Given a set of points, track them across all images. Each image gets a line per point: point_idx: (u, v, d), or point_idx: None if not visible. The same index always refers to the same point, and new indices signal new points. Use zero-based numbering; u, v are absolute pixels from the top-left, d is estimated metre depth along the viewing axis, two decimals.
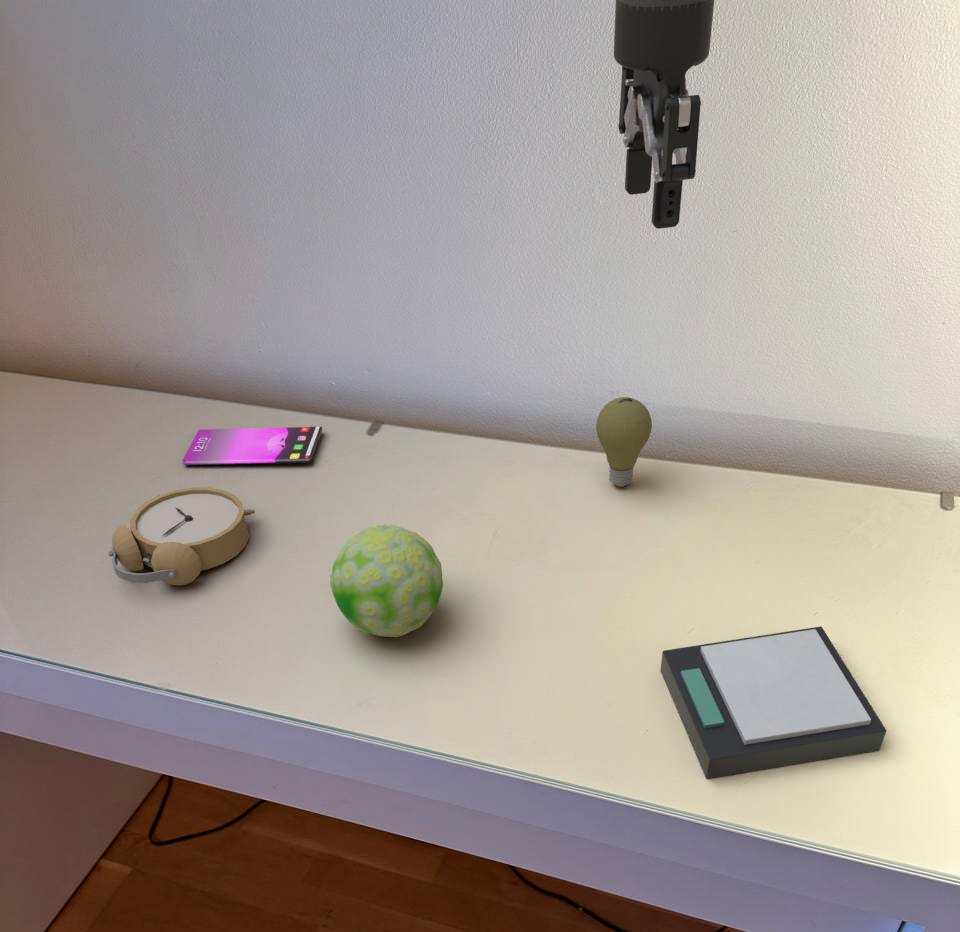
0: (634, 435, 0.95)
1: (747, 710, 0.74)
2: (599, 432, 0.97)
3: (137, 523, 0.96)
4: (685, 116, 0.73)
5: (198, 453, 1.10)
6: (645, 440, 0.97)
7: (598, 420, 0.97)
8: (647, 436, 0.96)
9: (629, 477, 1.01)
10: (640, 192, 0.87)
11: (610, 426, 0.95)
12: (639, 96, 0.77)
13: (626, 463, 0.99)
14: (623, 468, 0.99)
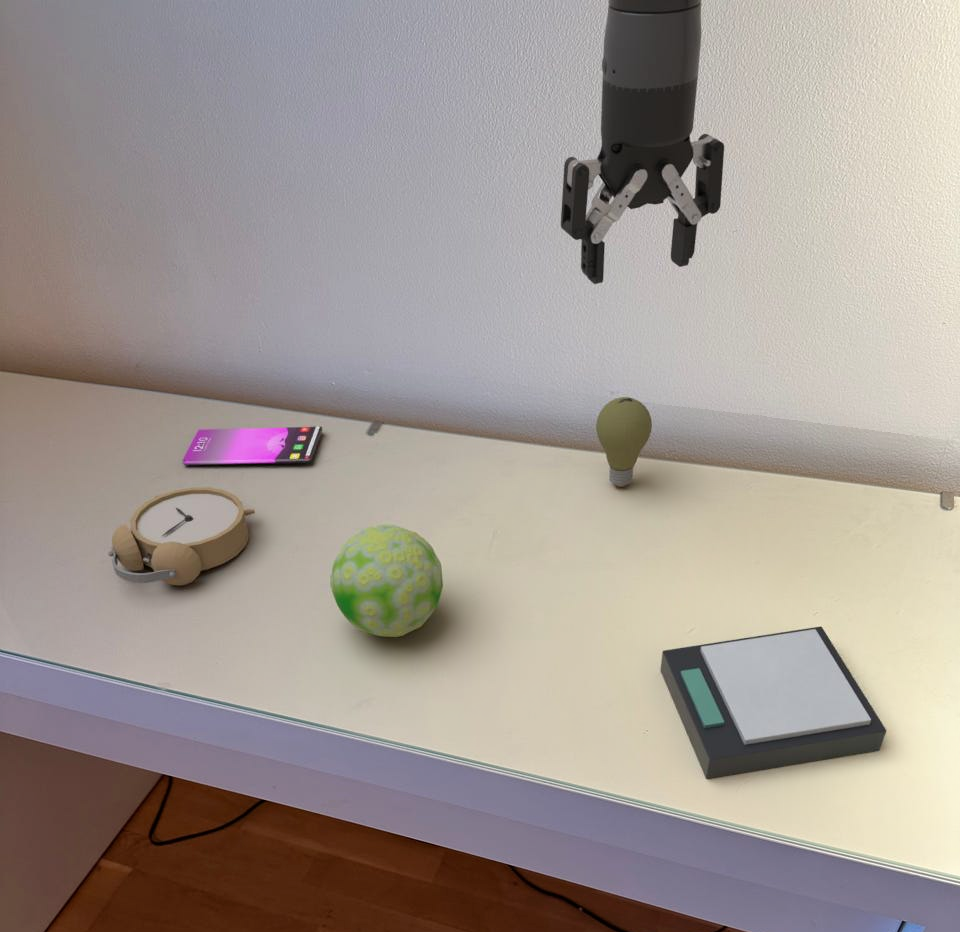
0: (634, 435, 0.95)
1: (747, 710, 0.74)
2: (599, 432, 0.97)
3: (137, 523, 0.96)
4: (569, 178, 0.80)
5: (198, 453, 1.10)
6: (645, 440, 0.97)
7: (598, 420, 0.97)
8: (647, 436, 0.96)
9: (629, 477, 1.01)
10: (677, 263, 0.88)
11: (610, 426, 0.95)
12: None
13: (626, 463, 0.99)
14: (623, 468, 0.99)
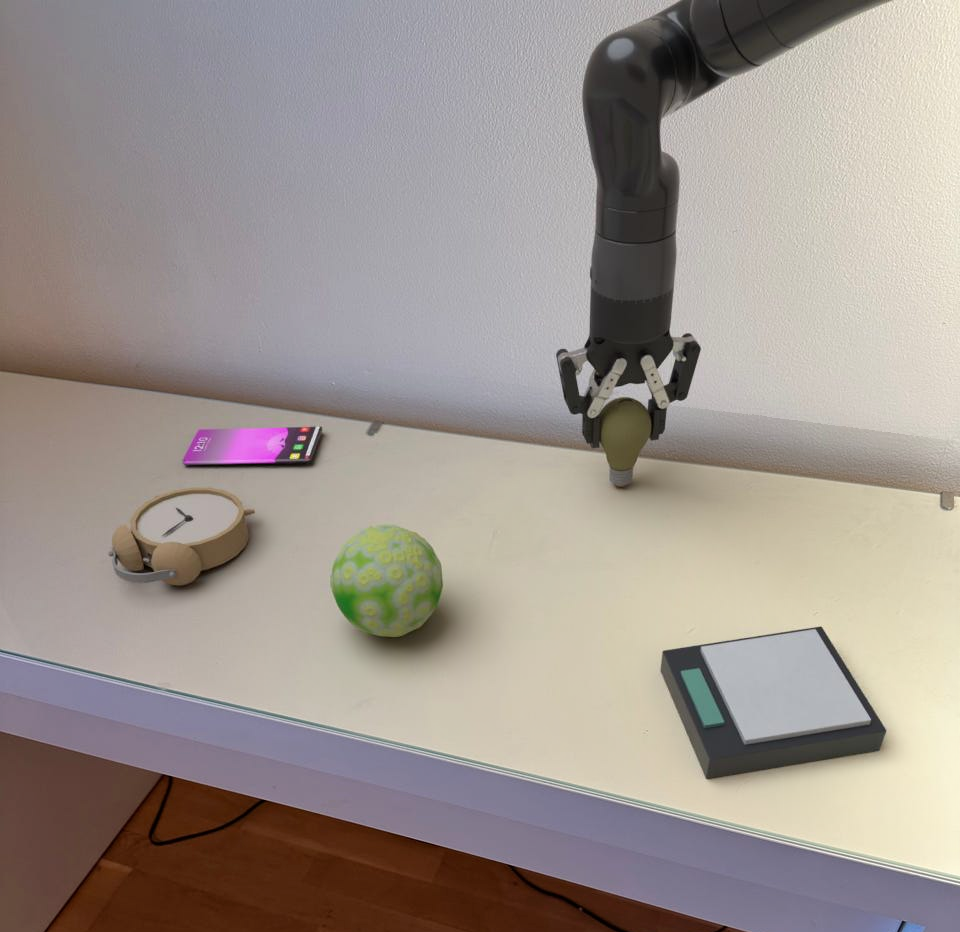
0: (634, 435, 0.95)
1: (747, 710, 0.74)
2: None
3: (137, 523, 0.96)
4: (560, 368, 0.92)
5: (198, 453, 1.10)
6: (645, 440, 0.96)
7: None
8: (647, 436, 0.96)
9: (629, 477, 1.01)
10: (649, 436, 0.99)
11: (610, 427, 0.95)
12: None
13: (625, 463, 0.99)
14: (623, 468, 0.99)
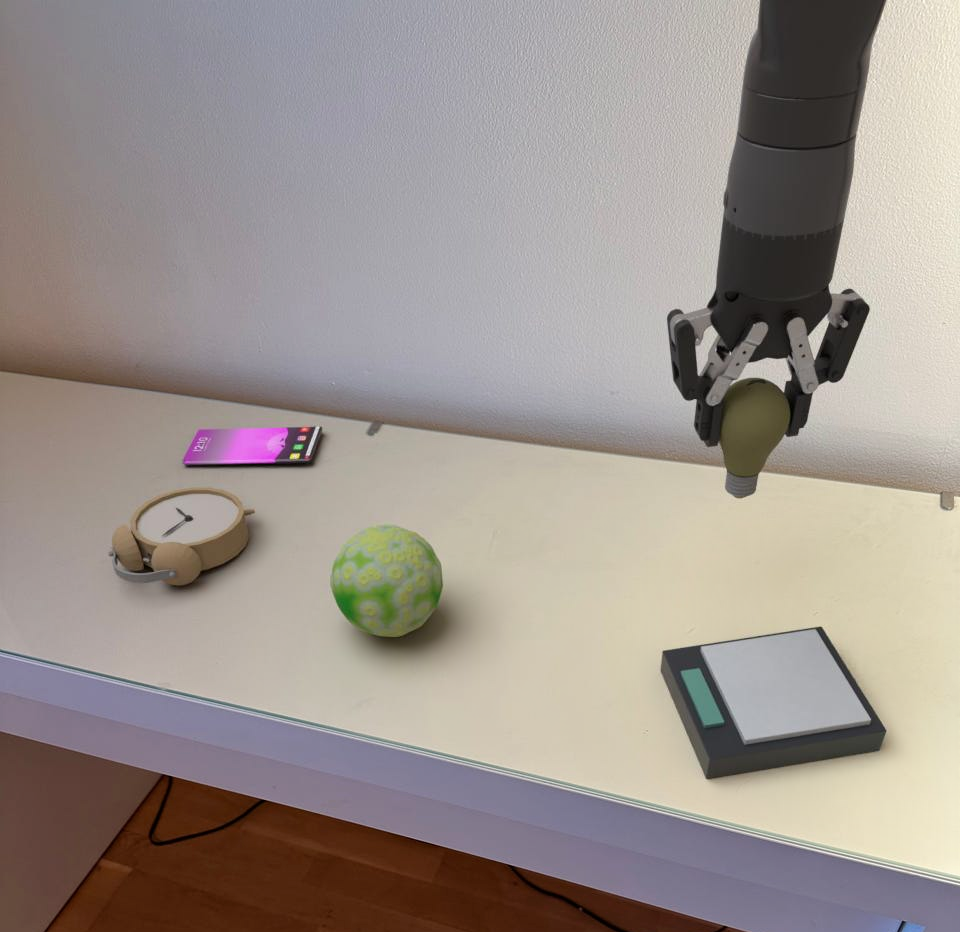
0: (768, 429, 0.70)
1: (747, 710, 0.74)
2: None
3: (137, 523, 0.96)
4: (673, 336, 0.66)
5: (198, 453, 1.10)
6: (781, 436, 0.71)
7: None
8: (784, 431, 0.71)
9: (753, 486, 0.75)
10: None
11: (735, 418, 0.70)
12: None
13: (751, 467, 0.73)
14: (747, 474, 0.74)
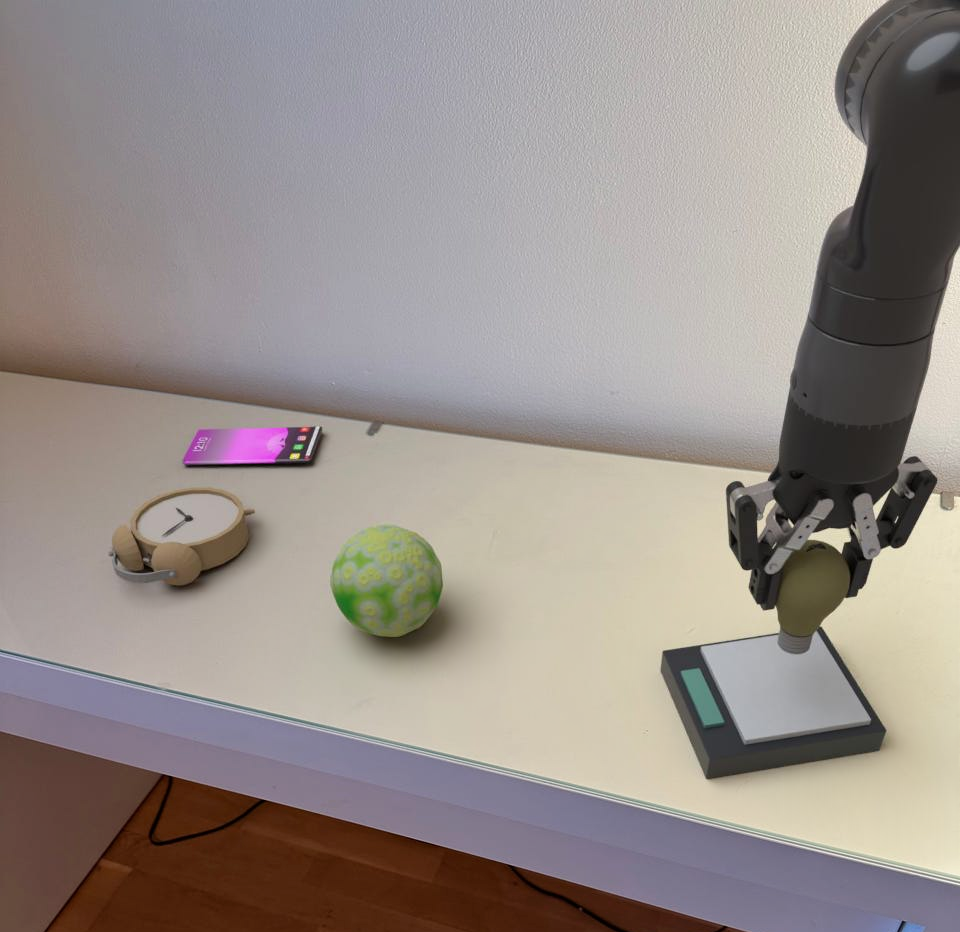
0: (830, 597, 0.67)
1: (747, 710, 0.74)
2: None
3: (137, 523, 0.96)
4: (733, 509, 0.63)
5: (198, 453, 1.10)
6: (841, 601, 0.68)
7: None
8: None
9: (808, 644, 0.72)
10: None
11: (795, 585, 0.67)
12: None
13: (808, 629, 0.70)
14: (803, 635, 0.71)
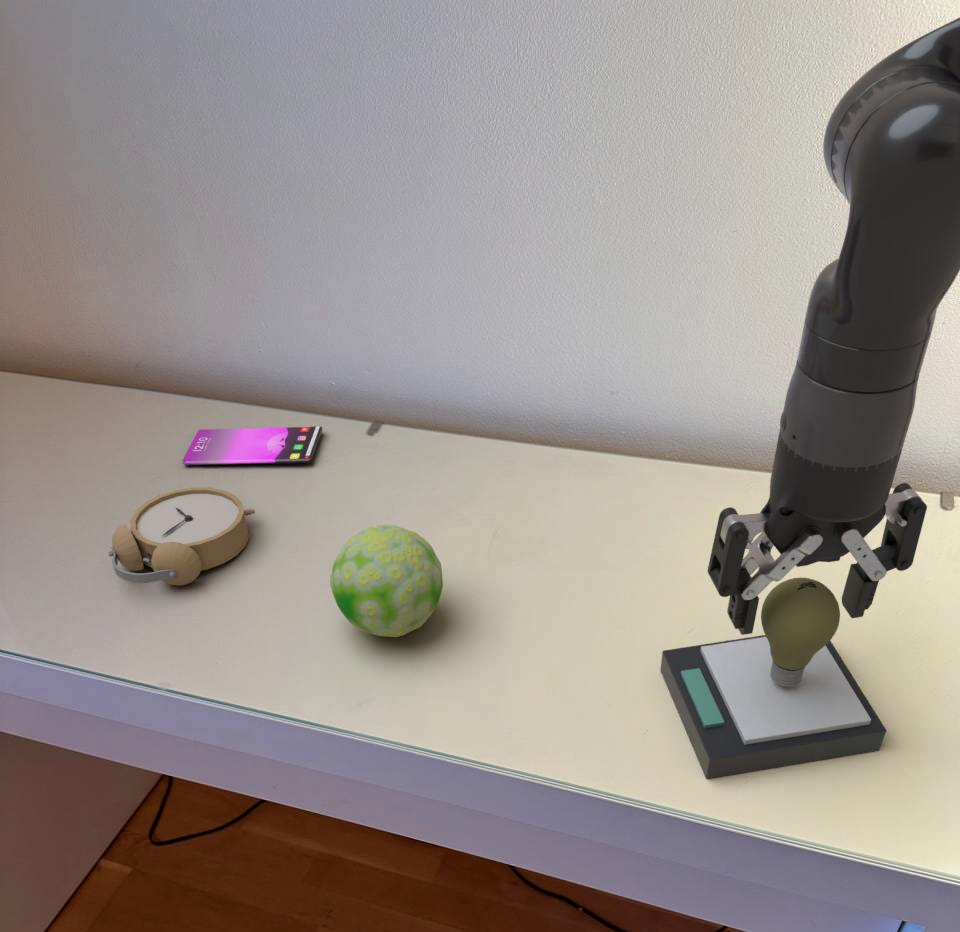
0: (820, 634, 0.69)
1: (747, 710, 0.74)
2: (768, 626, 0.71)
3: (137, 523, 0.96)
4: (724, 534, 0.65)
5: (198, 453, 1.10)
6: (831, 637, 0.71)
7: (766, 609, 0.71)
8: (834, 632, 0.70)
9: (800, 676, 0.75)
10: (848, 612, 0.72)
11: (786, 622, 0.69)
12: None
13: (800, 663, 0.73)
14: (795, 668, 0.73)
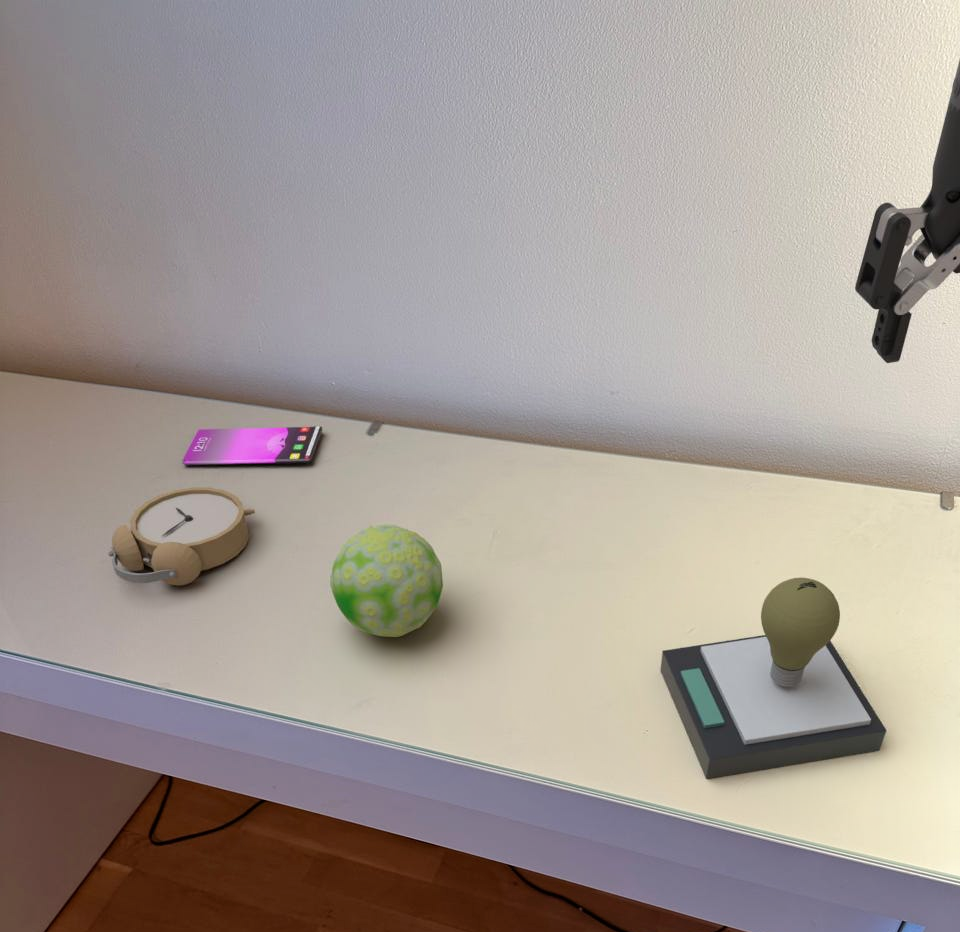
0: (820, 634, 0.69)
1: (747, 710, 0.74)
2: (768, 626, 0.71)
3: (137, 523, 0.96)
4: (881, 231, 0.61)
5: (198, 453, 1.10)
6: (831, 637, 0.71)
7: (766, 609, 0.71)
8: (834, 632, 0.70)
9: (800, 676, 0.75)
10: None
11: (786, 622, 0.69)
12: None
13: (800, 663, 0.73)
14: (795, 668, 0.73)
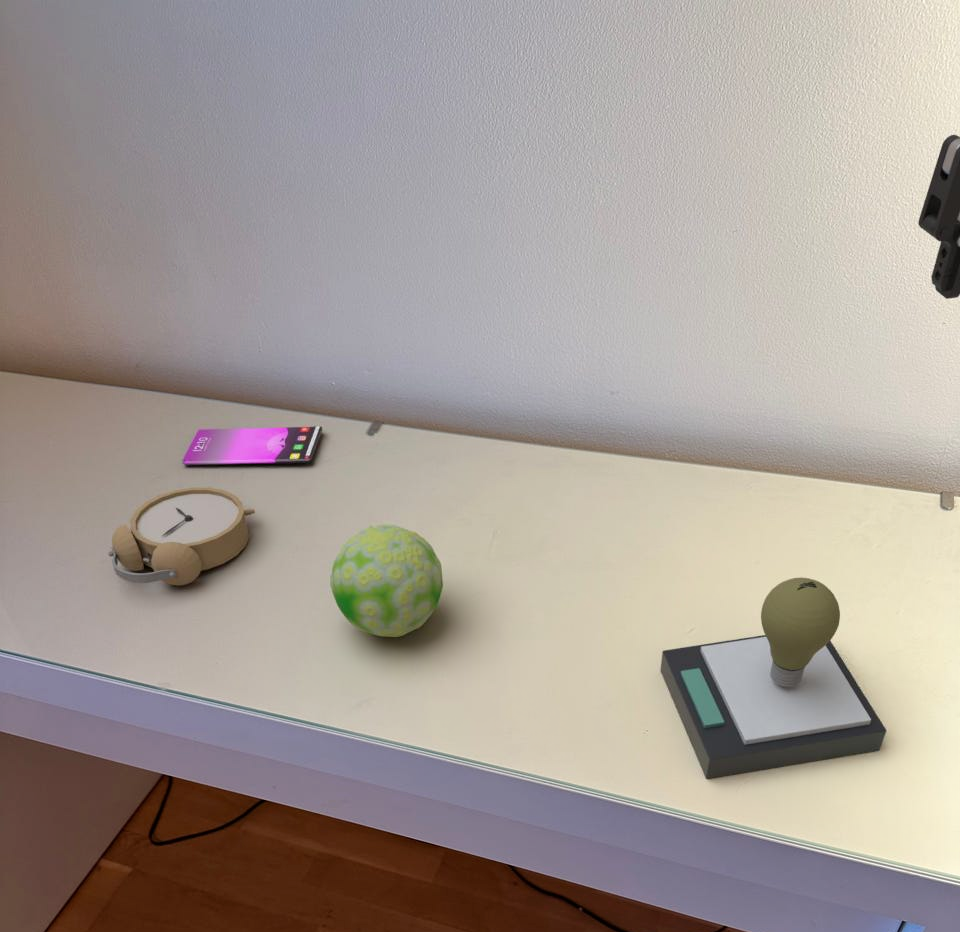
0: (820, 634, 0.69)
1: (747, 710, 0.74)
2: (768, 626, 0.71)
3: (137, 523, 0.96)
4: (948, 162, 0.62)
5: (198, 453, 1.10)
6: (831, 637, 0.71)
7: (766, 609, 0.71)
8: (834, 632, 0.70)
9: (800, 676, 0.75)
10: None
11: (786, 622, 0.69)
12: None
13: (800, 663, 0.73)
14: (795, 668, 0.73)
